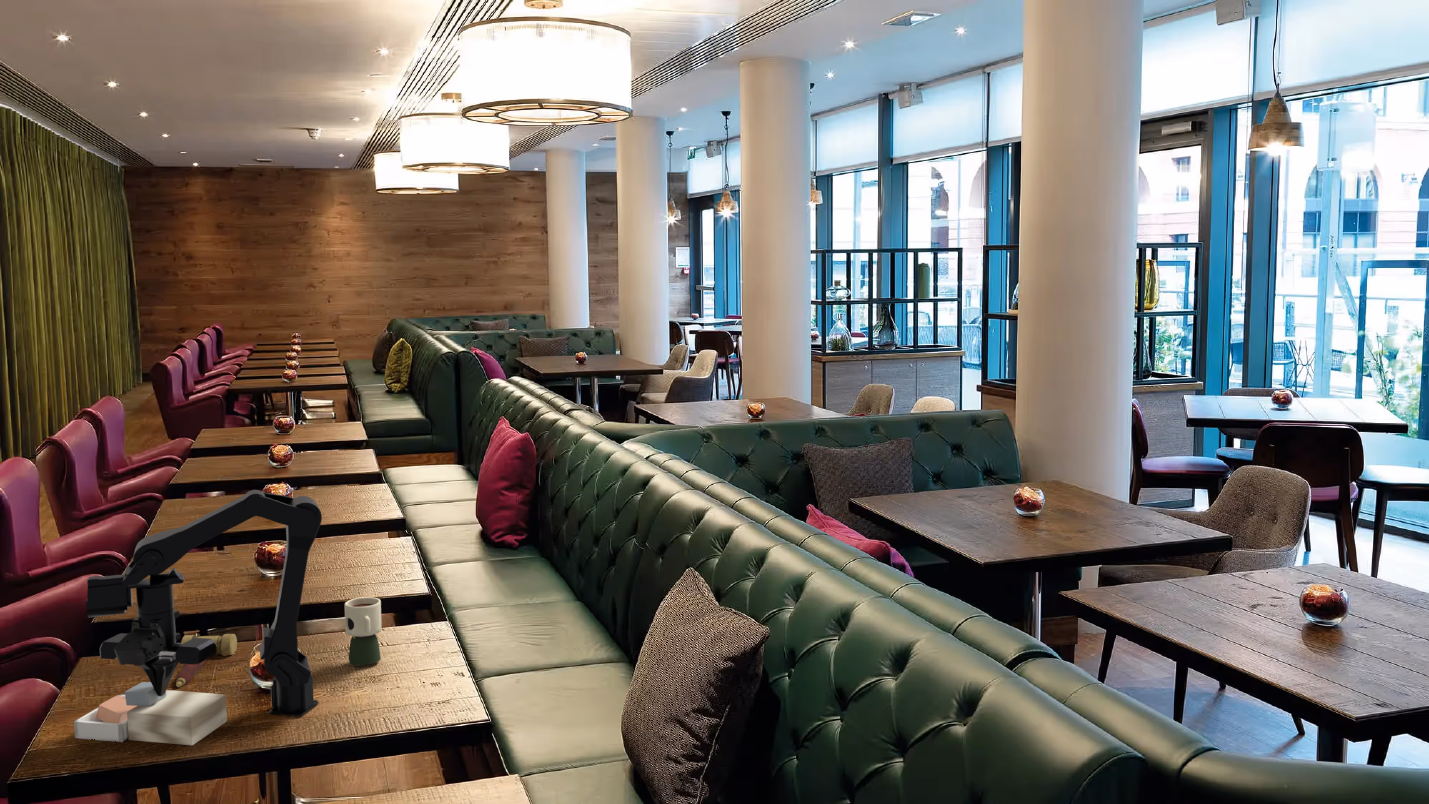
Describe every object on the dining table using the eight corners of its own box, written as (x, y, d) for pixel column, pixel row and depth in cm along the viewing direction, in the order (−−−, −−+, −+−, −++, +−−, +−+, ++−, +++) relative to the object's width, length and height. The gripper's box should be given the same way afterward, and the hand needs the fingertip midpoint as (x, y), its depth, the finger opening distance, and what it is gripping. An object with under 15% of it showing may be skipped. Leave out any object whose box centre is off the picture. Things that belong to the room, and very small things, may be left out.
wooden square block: (226, 721, 198) (225, 694, 198) (192, 745, 189) (190, 717, 188) (165, 716, 200) (164, 689, 200) (128, 739, 190) (127, 712, 190)
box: (166, 713, 201) (166, 698, 201) (122, 742, 190) (121, 725, 189) (122, 710, 203) (121, 694, 202) (75, 738, 191) (73, 721, 191)
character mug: (342, 657, 230) (340, 597, 229) (377, 652, 234) (375, 592, 232) (350, 675, 221) (348, 612, 219) (387, 669, 224) (385, 607, 222)
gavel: (204, 673, 213) (149, 675, 212) (206, 695, 214) (151, 697, 213) (236, 630, 234) (186, 631, 232) (237, 650, 234) (188, 652, 233)
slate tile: (166, 695, 197) (164, 682, 196) (149, 705, 192) (147, 692, 192) (144, 695, 197) (142, 682, 197) (126, 705, 193) (124, 691, 193)
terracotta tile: (117, 695, 199) (114, 707, 199) (99, 704, 195) (95, 717, 195) (138, 704, 198) (135, 717, 199) (121, 714, 194) (117, 727, 194)
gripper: (74, 621, 186) (80, 710, 188) (175, 627, 183) (181, 717, 185) (119, 601, 196) (124, 685, 198) (215, 606, 194) (220, 692, 196)
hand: (161, 695), depth 194 cm, fingers closed
